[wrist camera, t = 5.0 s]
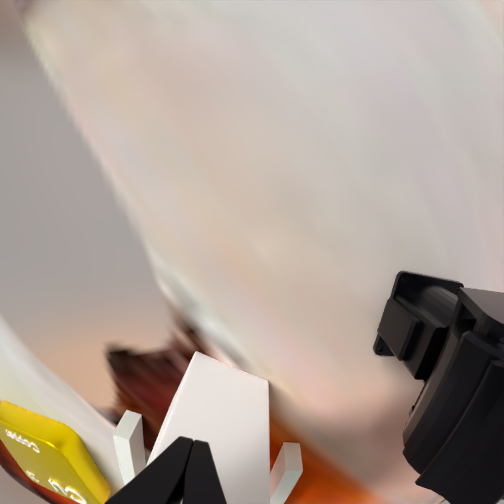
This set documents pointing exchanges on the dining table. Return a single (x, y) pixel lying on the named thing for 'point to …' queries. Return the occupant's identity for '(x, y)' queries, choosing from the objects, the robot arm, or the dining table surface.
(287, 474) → the u rest
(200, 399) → the milk
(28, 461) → the element tile
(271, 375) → the dining table surface
